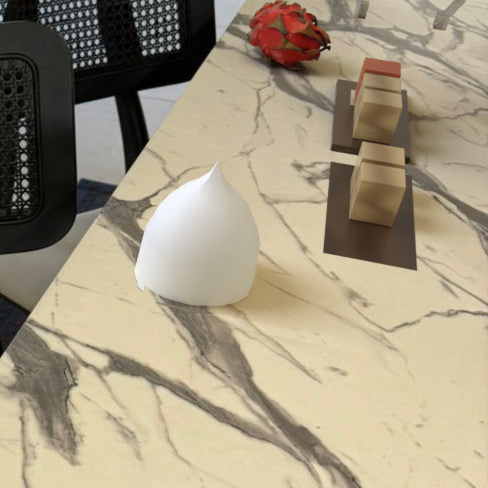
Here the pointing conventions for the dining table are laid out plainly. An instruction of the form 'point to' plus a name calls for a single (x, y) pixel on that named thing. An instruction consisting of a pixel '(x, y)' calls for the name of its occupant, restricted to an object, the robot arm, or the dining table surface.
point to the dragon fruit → (287, 34)
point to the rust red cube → (378, 70)
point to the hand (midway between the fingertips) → (398, 23)
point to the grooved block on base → (372, 209)
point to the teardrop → (200, 245)
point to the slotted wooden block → (370, 115)
